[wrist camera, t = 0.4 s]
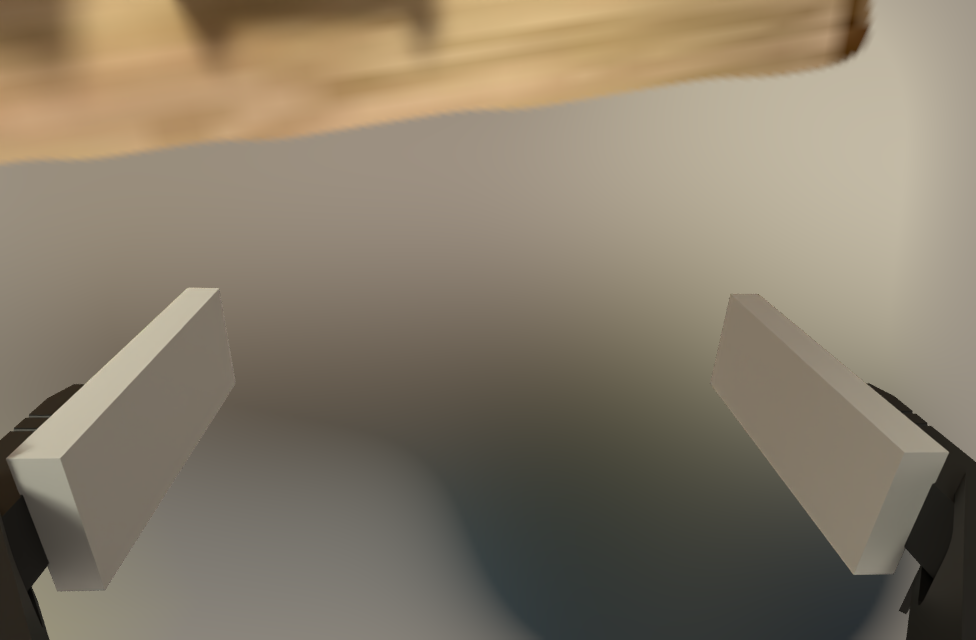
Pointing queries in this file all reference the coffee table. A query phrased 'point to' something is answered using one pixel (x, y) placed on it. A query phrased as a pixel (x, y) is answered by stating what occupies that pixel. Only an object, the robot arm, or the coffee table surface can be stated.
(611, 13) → the coffee table surface
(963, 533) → the robot arm
